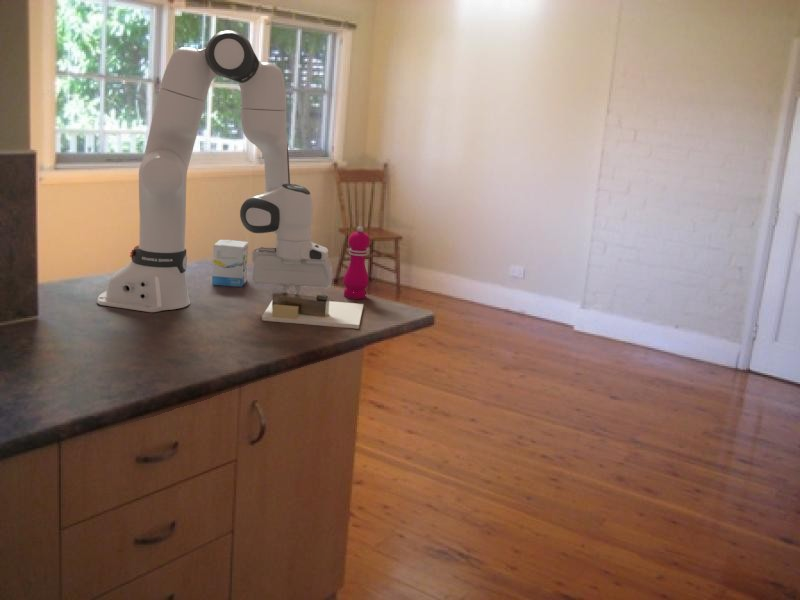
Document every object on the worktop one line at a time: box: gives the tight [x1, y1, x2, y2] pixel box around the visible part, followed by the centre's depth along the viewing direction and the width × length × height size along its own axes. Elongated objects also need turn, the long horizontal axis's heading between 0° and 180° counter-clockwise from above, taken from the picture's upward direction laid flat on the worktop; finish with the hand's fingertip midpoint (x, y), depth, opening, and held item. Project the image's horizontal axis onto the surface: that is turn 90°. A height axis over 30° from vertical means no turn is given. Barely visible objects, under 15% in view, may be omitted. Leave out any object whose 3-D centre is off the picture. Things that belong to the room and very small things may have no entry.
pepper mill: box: [342, 226, 371, 300], centre depth 244 cm, size 7×7×20 cm
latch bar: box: [271, 291, 330, 316], centre depth 221 cm, size 14×4×5 cm, turn 81°
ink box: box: [211, 239, 249, 288], centre depth 248 cm, size 8×8×12 cm
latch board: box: [261, 300, 364, 330], centre depth 225 cm, size 24×20×4 cm
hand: (291, 301), depth 225 cm, fingers closed
